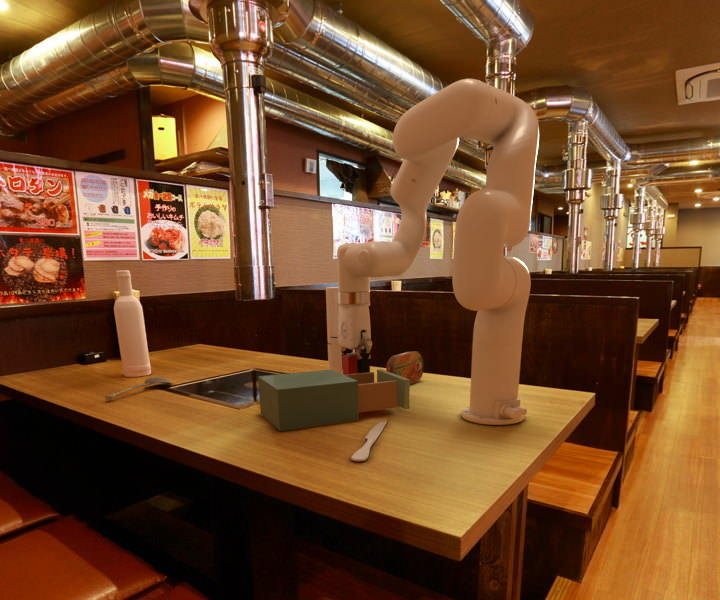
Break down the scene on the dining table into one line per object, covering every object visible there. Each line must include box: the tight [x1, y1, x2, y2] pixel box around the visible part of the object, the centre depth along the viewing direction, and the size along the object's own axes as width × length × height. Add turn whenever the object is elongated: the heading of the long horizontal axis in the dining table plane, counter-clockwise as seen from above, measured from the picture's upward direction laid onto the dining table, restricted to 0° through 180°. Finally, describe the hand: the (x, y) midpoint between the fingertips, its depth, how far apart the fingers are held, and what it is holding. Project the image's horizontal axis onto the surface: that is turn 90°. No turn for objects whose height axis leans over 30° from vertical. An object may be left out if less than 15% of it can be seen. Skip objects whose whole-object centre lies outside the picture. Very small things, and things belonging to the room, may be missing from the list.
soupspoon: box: [104, 376, 173, 403], centre depth 144 cm, size 22×3×7 cm
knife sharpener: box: [343, 352, 358, 375], centre depth 137 cm, size 4×5×10 cm
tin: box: [385, 350, 425, 386], centre depth 147 cm, size 15×3×8 cm, turn 143°
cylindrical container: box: [325, 286, 356, 374], centre depth 147 cm, size 7×7×25 cm
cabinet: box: [257, 369, 360, 432], centre depth 116 cm, size 17×15×8 cm
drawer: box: [345, 368, 411, 413], centre depth 121 cm, size 17×14×6 cm
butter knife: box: [350, 420, 388, 463], centre depth 101 cm, size 1×24×3 cm
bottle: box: [113, 269, 152, 378], centre depth 163 cm, size 8×8×30 cm
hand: (355, 372), depth 137 cm, fingers open, 8 cm apart
